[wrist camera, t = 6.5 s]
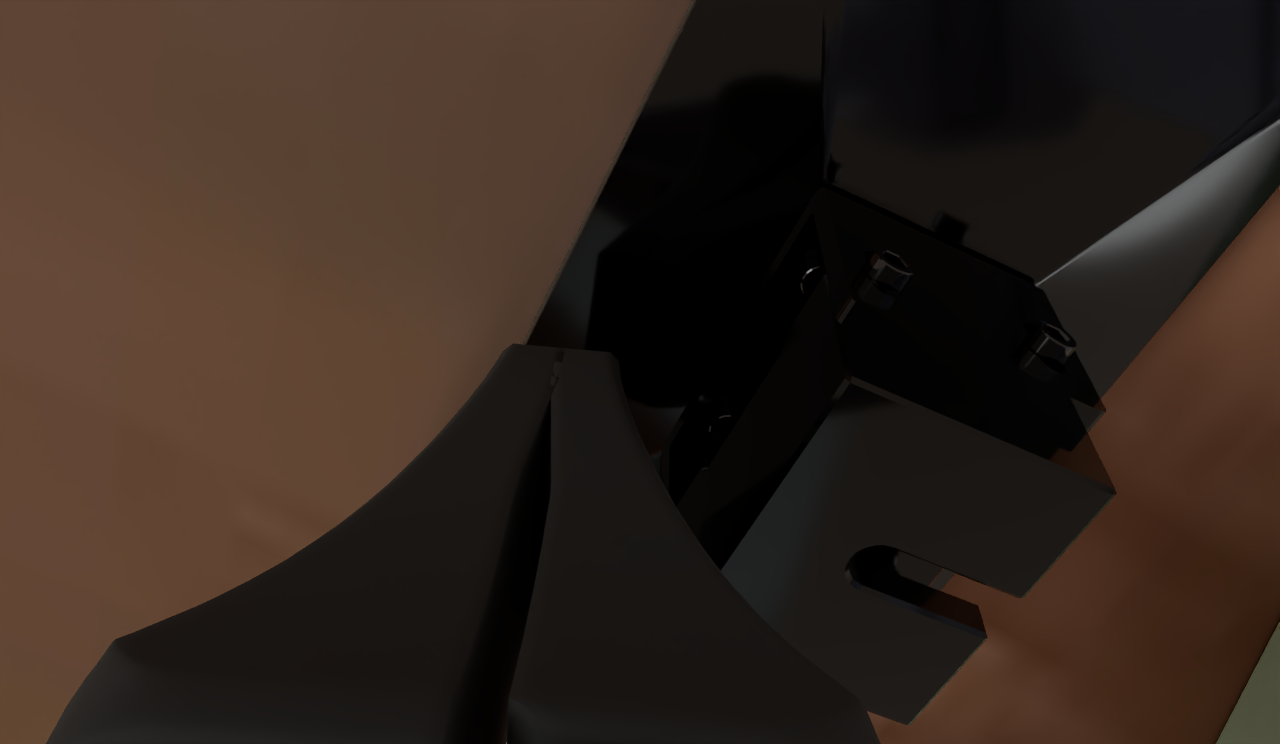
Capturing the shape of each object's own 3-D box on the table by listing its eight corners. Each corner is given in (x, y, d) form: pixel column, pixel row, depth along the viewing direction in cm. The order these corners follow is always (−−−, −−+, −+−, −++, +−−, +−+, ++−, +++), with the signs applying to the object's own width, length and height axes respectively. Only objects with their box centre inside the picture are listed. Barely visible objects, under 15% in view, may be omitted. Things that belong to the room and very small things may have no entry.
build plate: (825, 702, 19) (859, 984, 15) (399, 548, 18) (318, 818, 14) (1402, 11, 13) (1705, 195, 9) (817, -320, 11) (882, -268, 8)
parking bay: (1953, -460, 11) (2192, -472, 9) (1215, 854, 21) (1261, 963, 19) (952, -565, 10) (1004, -598, 9) (704, 814, 21) (706, 921, 19)
